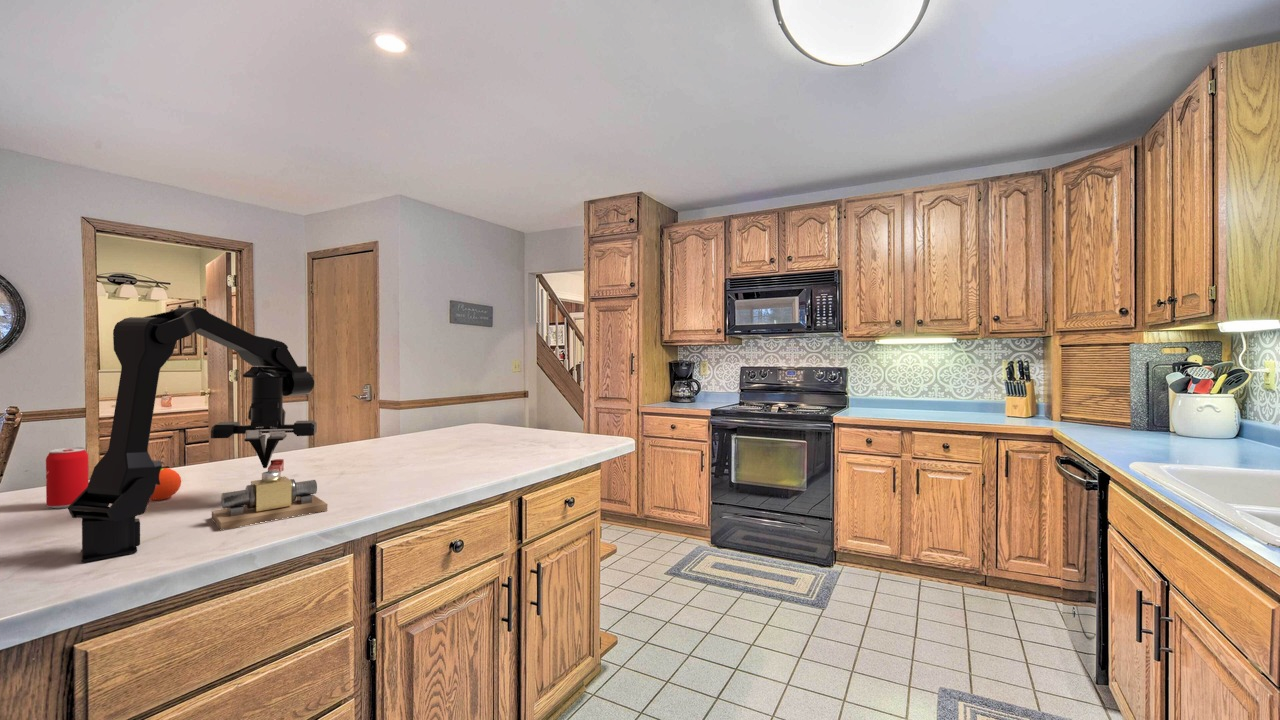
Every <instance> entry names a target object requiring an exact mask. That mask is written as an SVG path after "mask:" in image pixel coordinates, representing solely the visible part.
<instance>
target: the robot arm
mask: <svg viewBox="0 0 1280 720" xmlns="http://www.w3.org/2000/svg"><path fill="white" fill-rule="evenodd" d="M192 334H197V335H199V336H201V337H204V338H206V339H208V340H211V341H212V342H215V343H217V344H219V345H221V346H223V347H226V348H228V349H230V350H232V351H234V352H236V353H237V354H238V356H239V357H240V359H241V360H243V361H245V362H246V363H248V365H250V366H251V367H250V368H249V370H247V371H245V372H244V373H243V374H242V377H243V378H246V379H249V378H251V400H250V401H251V403H250V406H249V408H248V414H247V418H248V420H249V421H250V424H246V425H245V424H243V425H242V424H240V421H220V422H218V423H216V424H214V425H213V426H211V430H210V439H229V438H230V437H231V436H233V435H243V434H244V435H245V438H244V442H247V443H248V442H249V443H250V445H251V447H252V448H253V450H255V452H256V454H257V456H258V458H259V460H260V463H261V465H262V468H263V469H268V467H269V465H270V462H271V459H272V456H273V454H274V451H275V450H276V449H275V448H276V447H277V445H278V443H279V442H280V441H284V440H285V438H287V436H288V435H287V433H289V434H290V433H293V434H294V435H295V436H296V437H312V436H315V434H316V433H317V425H318V423H317V422H316V420H296V421H295V422H294V423H292V424H285V423H286V411H285V409H284V405H283V404H284V399H283V398H284V397H288V396H290V397H291V396H299V395H300V396H301V395H307V394H310V393H311V392H312V391H313V389H314V388H315V387H314V386H315V380H314V376H312V374H311V372H309V371H308V370H307V369H308V367H307V366H305V365H298V364H297V362H296V361H295V359H294V357H293V356H292V354H291V351H289V346H288V345H287V343H285V342H283V341H280V340H277V339H272V338H269V337H263V336H259V335H254V334H252V333H250V332H248V331H246V330H245V329H242V328H240V327H239V326H237V325H234V324H233V323H230V322H228V321H226V320H224V319H223V318H220V317H218V316H216V315H214V314H212V313H210V312H209V311H208V310H206V309H205V308H204V307H200V306H181V307H178V308H175V309H172V310H169V311H166V312H165V311H164V312H160V313H156V314H151V315H147V316H144V317H141V316H140V317H137V316H136V317H135V316H134V317H133V316H131V317H127V318H126V317H125V318H122V320H120V321H118V322H116V323H115V325H114V328H113V331H112V339H113V351H114V353H115V355H116V357H117V359H118V362H119V364H120V366H121V368H120V369H121V370H120V376H119V381H118V387H117V388H118V389H117V395H116V402H115V407H114V413H113V419H112V424H111V425H112V426H111V431H110V438H109V444H108V449H107V451H106V453H105V454H104V455H103V456H102V458H101V459H99V461H98V462H97V464H96V465H95V466H94V468H93V470H92V472H91V473H92V474H91V476H90V479H89V484H88V487H87V488H86V489H85V490H84V491H83V492H82V493H81V494H80V495H79V496H78V497H77V498H76V499H75V500H74V501H73V502H72V503H71V504H70V506H69V507H68V508H67V510H68V512H69V514H70V516H71V518H72V519H81V549H80V562H81V563H87V562H92V561H93V562H94V561H98V560H103V559H108V558H113V557H114V558H115V557H119V556H124V555H125V556H126V555H130V554H134V553H137V552H138V547H139V546H141V521H140V519H139V518H138V517H137V516H140V515H143V514H145V513H146V510H147V506H148V505H149V501H150V496H152V495H153V493H154V491H155V488H156V485H160V481H159V473H160V470H161V467H162V465H163V464H162V461H161V460H153V459H152V458H151V456H150V454H149V443H150V438H151V429H152V424H153V423H152V422H153V416H154V409H155V403H156V396H157V390H158V389H157V388H158V384H159V383H158V382H159V378H160V377H159V376H160V371H161V368H163V366H164V365H165V364H166V363H167V362H168V360H169V359H170V358H172V356H173V354H174V352H175V347H176V345H177V343H178V342H177V341H179V340H182V339H185V338H188V337H190V336H191V335H192ZM266 434H269V436H268V437H267V438H266ZM162 468H163V467H162ZM110 505H111V506H110Z"/></svg>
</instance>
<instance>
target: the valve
mask: <svg viewBox="0 0 1280 720" xmlns="http://www.w3.org/2000/svg"><path fill="white" fill-rule="evenodd" d="M317 491H318V483H317V480H316V479H311V480H305V481H304V480H303V481H297V482H296V481H295V479H294V478H288V477H287V476H281V479H279V480H275V481H262V479H257V480H251V481H250V484H248V485H246V486H245V489H242V490H236V491H228V492H222V493H221V496H220V502H221V504H220V505H221V509H227V513H228V514H229V515H230V516H231V517H232V516H237V515H243V506H247V508H248V509H249V508H253V509H254V510H255V511H256V512H257V511H263V510H269V509H275V508H281V507H287V506H291V502H292V501H295V500H296V497H297V502H299V503H300V504H301V505H302V504H307V503H312V495H316V494H317Z"/></svg>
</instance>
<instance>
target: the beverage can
mask: <svg viewBox="0 0 1280 720" xmlns="http://www.w3.org/2000/svg"><path fill="white" fill-rule="evenodd" d="M89 481H90V479H89V454H88V451H86V448H85V447H82V446H81V447H80V446H79V447H78V446H77V447H73V446H72V447H64V448H62V447H61V448H56V449H51V450H49V453H48V455H47V456H46V458H45V488H46V489H45V490H46V491H45V492H46V498H45V500H46V502H45V503H46V506H47V507H48V508H51V509H68V507H69V506H70V504H71V503H72V502H73V501H74V500H75V499H76V498H77V497H78V496H79V495H80V494H81V493H82V492H83V491H84V490H85V489H86V488H87V487H88V484H89Z"/></svg>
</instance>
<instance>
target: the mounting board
mask: <svg viewBox="0 0 1280 720" xmlns="http://www.w3.org/2000/svg"><path fill="white" fill-rule="evenodd" d="M311 495H312V503H307V504H302V505H301V504H300V503H299V502H297V497H296V500H295V501H292V502H291V506H287V507H281V508H275V509H269V510H263V511H257V512H256V511H255V510H254V509H253V508H249V509H248V508H247V506H246V505H243V515H237V516H232V517H231V516H230V515H229V514H228V513H227V508H224V509H223V508H220V509H217V510H211V520H212V519H213V520H214V521H215V522H214V521H213V520H212V521H213V522H214V524H215V525H216V524H217V525H218V526H217V525H216V526H217V528H218V529H219V528H220V529H221V530H222V531H224V530H223V529H228V530H231V529H230V528H233V529H236V528H235V527H238V528H241V527H240V526H244V527H246V526H245V525H249V526H251V525H250V524H255V523H260V522H265V521H271V520H275V519H282V518H287V517H292V516H298V515H302V514H309V513H314V514H316V513H315V512H319V513H323V511H325V512H327V511H328V503H327V502H325V501H323V499H320V498H319V497H317V496H316V495H315V494H311ZM321 511H322V512H321ZM309 515H310V514H309ZM298 517H299V516H298ZM292 518H293V517H292ZM287 519H288V518H287ZM282 520H283V519H282ZM271 522H272V521H271ZM265 523H266V522H265ZM260 524H261V523H260ZM255 525H256V524H255ZM220 529H219V530H220ZM221 530H220V531H221Z"/></svg>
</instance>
